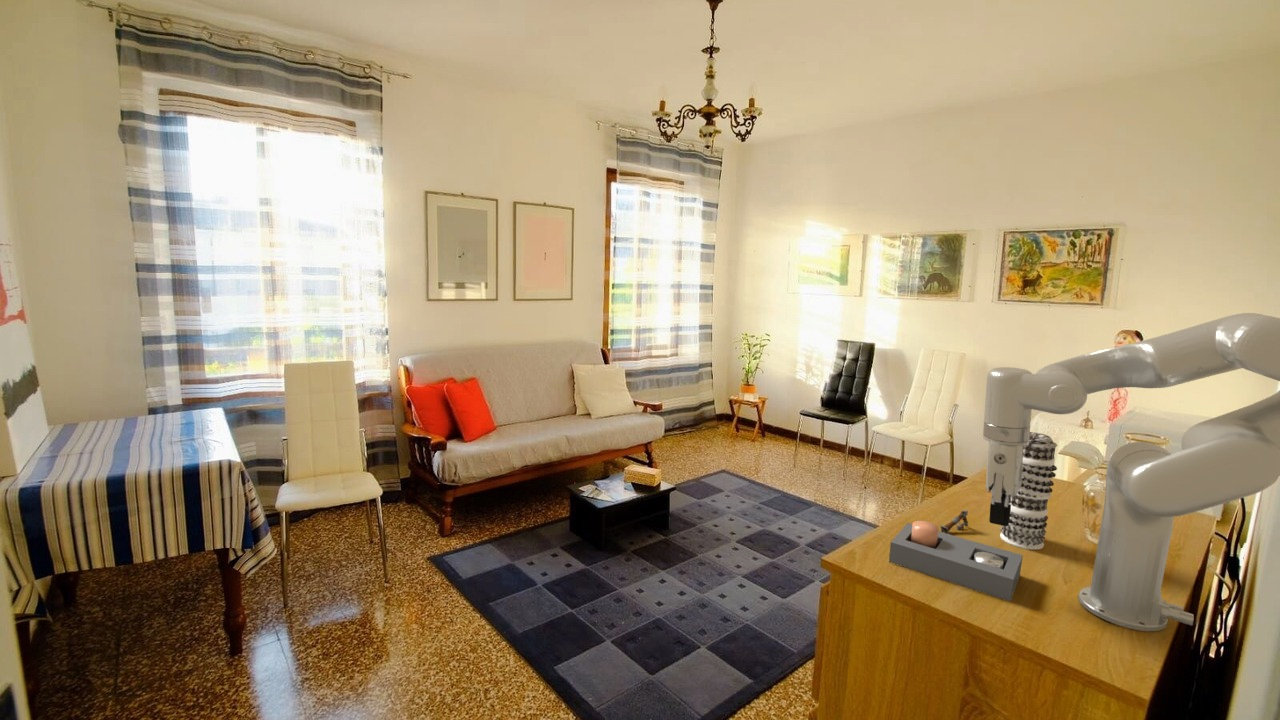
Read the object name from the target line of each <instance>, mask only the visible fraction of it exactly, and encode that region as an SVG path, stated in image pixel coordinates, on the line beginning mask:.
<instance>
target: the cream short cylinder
mask: <svg viewBox="0 0 1280 720" xmlns="http://www.w3.org/2000/svg"><path fill="white" fill-rule="evenodd" d="M974 561H977V562H980V563H984V564H987V565H990V566H994V567H997V568H1000V569H1003V559H1002V558H1000V557H999V556H997V555H994V554H991V553H987V552H977V553H975V555H974Z"/></svg>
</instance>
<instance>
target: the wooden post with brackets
mask: <svg viewBox="0 0 1280 720" xmlns="http://www.w3.org/2000/svg"><path fill="white" fill-rule="evenodd" d="M968 514H969V512H968V510H967V509H966V510H961V511H960V513H959V514H958V515H957V516H955V517H953V519H951V520H950V522H948V523H947V524H945V525H941V524H940V529H941V531H940V532H942V533H946V534H949V535H950V530H951V529H952V528H953V527H954V526H956V530H957V531H958V530H959V531H961V530H963V529H965V527H969V521H968V518H967V516H968ZM961 520H962V521H963V522H961ZM957 524H958V525H957Z"/></svg>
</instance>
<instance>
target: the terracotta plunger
mask: <svg viewBox="0 0 1280 720" xmlns="http://www.w3.org/2000/svg"><path fill="white" fill-rule="evenodd" d="M911 524H912V534H911V542H914V543H917V544H920V545H924V546H927V547H930V548H934V549H935V548H937V540H938V531H939V530H940V528H939V526H938V525H937V524H935V523H933V522H930V521H925V520H916V521H913V522H912V523H911ZM939 532H940V531H939Z"/></svg>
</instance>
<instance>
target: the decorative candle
mask: <svg viewBox="0 0 1280 720" xmlns="http://www.w3.org/2000/svg"><path fill="white" fill-rule="evenodd" d="M1056 447H1058V444H1057V443H1056V442H1054V441H1053V438H1052V437H1051V436H1049V435H1048V434H1044V433H1041V432H1033V431H1030V436H1029V443H1028V444H1026V445H1023V468H1022V485H1021V487H1020V489H1019V491H1018V493H1017V495H1016V496H1014V497H1011V500H1010V505H1011V511H1010V523H1009V525H1008V526H1002V525H1001V527H1000V534H999V536H1000V539H1001V540H1002V541H1003V542H1005V543H1007V544H1009V545H1011V546H1013V547H1017V548H1020V549H1025V550H1035V551H1036V550H1041V549H1043V548H1044V546H1045V544H1044V542H1045V540H1046V537H1045V535H1046V533H1047V530H1046V528H1047V526H1048V523H1047V521H1048V519H1049V516H1048V509H1049V508H1048V507H1047V506H1048V501H1049V499H1050V498H1051V497H1052V494H1051V493H1052V492H1053V491H1054V489H1053V488H1051V487H1053V486H1054V484H1055V483H1054V481H1053V480H1051V479H1053V478H1055V477H1056V476H1057V475H1056V473H1055V471H1057V470H1058V467H1057V466H1056V465H1055V460H1056V458H1055V452H1056Z"/></svg>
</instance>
